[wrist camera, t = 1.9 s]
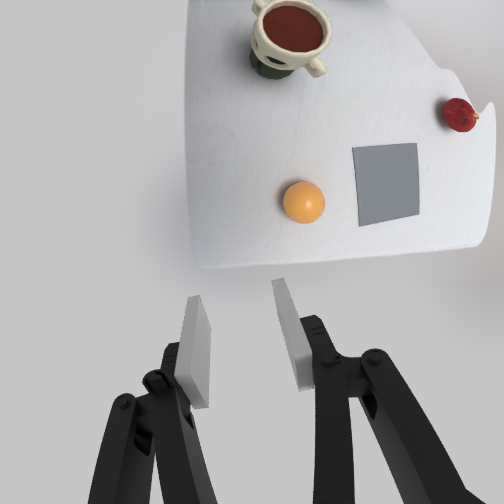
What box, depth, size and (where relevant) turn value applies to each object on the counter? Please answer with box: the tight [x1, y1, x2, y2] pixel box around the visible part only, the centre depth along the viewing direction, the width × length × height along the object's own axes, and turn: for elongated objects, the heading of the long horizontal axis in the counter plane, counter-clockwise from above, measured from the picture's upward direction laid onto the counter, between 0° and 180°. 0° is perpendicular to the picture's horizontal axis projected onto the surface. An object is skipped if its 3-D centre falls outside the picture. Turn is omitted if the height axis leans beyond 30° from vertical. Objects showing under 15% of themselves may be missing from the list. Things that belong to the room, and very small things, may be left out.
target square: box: [352, 143, 419, 226], centre depth 38 cm, size 12×12×1 cm
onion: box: [443, 98, 479, 132], centre depth 30 cm, size 6×6×8 cm
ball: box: [283, 182, 325, 224], centre depth 36 cm, size 6×6×6 cm
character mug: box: [250, 0, 332, 79], centre depth 24 cm, size 11×7×13 cm, turn 39°
